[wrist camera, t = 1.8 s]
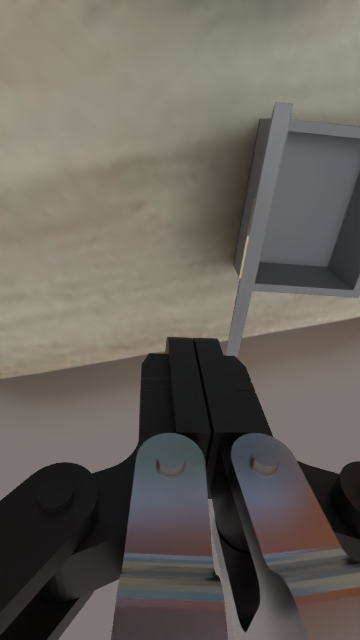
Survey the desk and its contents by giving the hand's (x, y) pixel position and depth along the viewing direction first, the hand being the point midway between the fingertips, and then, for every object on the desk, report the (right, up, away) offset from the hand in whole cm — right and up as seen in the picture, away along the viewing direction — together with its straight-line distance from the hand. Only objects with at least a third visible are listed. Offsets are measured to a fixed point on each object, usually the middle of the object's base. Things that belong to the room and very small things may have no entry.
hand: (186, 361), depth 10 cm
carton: (+13, +14, +26) cm, 33 cm away
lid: (+6, +8, +15) cm, 17 cm away
